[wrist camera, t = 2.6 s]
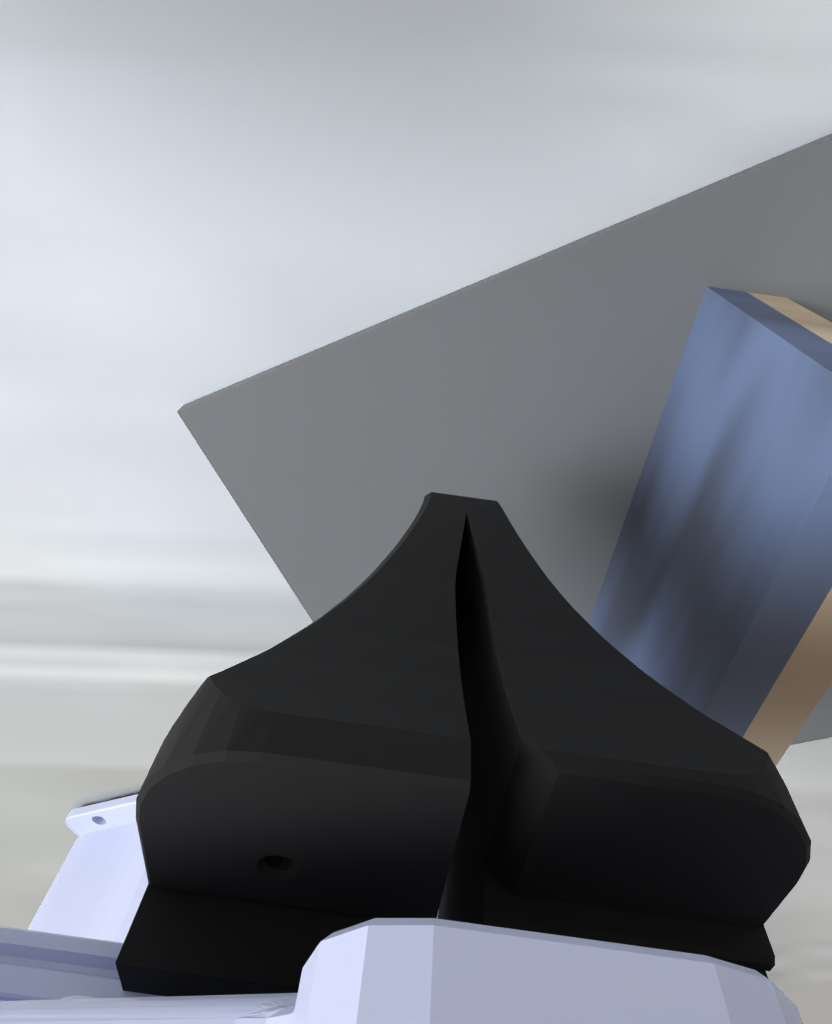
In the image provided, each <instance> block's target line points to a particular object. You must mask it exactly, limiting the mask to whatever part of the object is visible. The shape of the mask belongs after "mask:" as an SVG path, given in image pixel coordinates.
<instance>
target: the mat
mask: <svg viewBox="0 0 832 1024" xmlns="http://www.w3.org/2000/svg"><path fill="white" fill-rule="evenodd" d="M706 287H714V288H721V289H728V290H736V291H743V292H750V293H757V294H764V295H771V296H778V297H785V298H788V299H790V300H792V301H794V302H795V303H797V304H799V305H801V306H803V307H805V308H806V309H808V310H810V311H812V312H814V313H815V314H817V315H819V316H821V317H823V318H825V319H826V320H828V321H830V322H832V134H830V135H827V136H825V137H823V138H820V139H818V140H815V141H813V142H811V143H808V144H806V145H804V146H801V147H799V148H796V149H794V150H792V151H789V152H787V153H784V154H782V155H780V156H777V157H775V158H772V159H770V160H768V161H765V162H763V163H761V164H758V165H756V166H753V167H751V168H749V169H746V170H744V171H741V172H739V173H737V174H734V175H732V176H730V177H727V178H725V179H722V180H720V181H718V182H715V183H713V184H710V185H708V186H706V187H703V188H701V189H698V190H696V191H694V192H691V193H689V194H687V195H684V196H682V197H679V198H677V199H675V200H672V201H670V202H667V203H665V204H663V205H660V206H658V207H656V208H653V209H651V210H648V211H646V212H644V213H641V214H639V215H636V216H634V217H632V218H629V219H627V220H625V221H622V222H620V223H617V224H615V225H613V226H610V227H608V228H605V229H603V230H601V231H598V232H596V233H593V234H591V235H589V236H586V237H584V238H582V239H579V240H577V241H574V242H572V243H570V244H567V245H565V246H562V247H560V248H558V249H555V250H553V251H551V252H548V253H546V254H543V255H541V256H539V257H536V258H534V259H531V260H529V261H527V262H524V263H522V264H519V265H517V266H515V267H512V268H510V269H508V270H505V271H503V272H500V273H498V274H496V275H493V276H491V277H488V278H486V279H484V280H481V281H479V282H477V283H474V284H472V285H469V286H467V287H465V288H462V289H460V290H457V291H455V292H453V293H450V294H448V295H446V296H443V297H441V298H438V299H436V300H434V301H431V302H429V303H426V304H424V305H422V306H419V307H417V308H414V309H412V310H410V311H407V312H405V313H403V314H400V315H398V316H395V317H393V318H391V319H388V320H386V321H383V322H381V323H379V324H376V325H374V326H372V327H369V328H367V329H364V330H362V331H360V332H357V333H355V334H352V335H350V336H348V337H345V338H343V339H340V340H338V341H336V342H333V343H331V344H329V345H326V346H324V347H321V348H319V349H317V350H314V351H312V352H309V353H307V354H305V355H302V356H300V357H298V358H295V359H293V360H290V361H288V362H286V363H283V364H281V365H278V366H276V367H274V368H271V369H269V370H267V371H264V372H262V373H259V374H257V375H255V376H252V377H250V378H247V379H245V380H243V381H240V382H238V383H235V384H233V385H231V386H228V387H226V388H224V389H221V390H219V391H216V392H214V393H212V394H209V395H207V396H204V397H202V398H200V399H197V400H195V401H193V402H190V403H188V404H185V405H183V406H182V407H181V408H180V409H179V410H178V411H177V412H178V414H179V415H180V417H181V418H182V420H183V422H184V423H185V425H186V426H187V428H188V429H189V431H190V432H191V434H192V435H193V437H194V439H195V440H196V442H197V443H198V445H199V446H200V448H201V449H202V451H203V452H204V454H205V456H206V457H207V459H208V460H209V462H210V463H211V465H212V466H213V468H214V469H215V471H216V473H217V474H218V476H219V477H220V479H221V480H222V482H223V483H224V485H225V486H226V488H227V490H228V491H229V493H230V494H231V496H232V497H233V499H234V500H235V502H236V503H237V505H238V507H239V508H240V510H241V511H242V513H243V514H244V516H245V517H246V519H247V520H248V522H249V524H250V525H251V527H252V528H253V530H254V531H255V533H256V534H257V536H258V537H259V539H260V541H261V542H262V544H263V545H264V547H265V548H266V550H267V551H268V553H269V554H270V556H271V558H272V559H273V561H274V562H275V564H276V565H277V567H278V568H279V570H280V571H281V573H282V575H283V576H284V578H285V579H286V581H287V582H288V584H289V585H290V587H291V588H292V590H293V592H294V593H295V595H296V596H297V598H298V599H299V601H300V602H301V604H302V605H303V607H304V609H305V610H306V612H307V613H308V615H309V616H310V618H311V619H312V621H313V622H314V621H316V620H317V619H319V618H320V617H322V616H323V615H324V614H325V613H327V612H328V611H329V610H331V609H332V608H333V607H334V606H336V605H337V604H338V603H340V602H341V601H342V600H343V599H345V598H346V597H347V596H348V595H349V594H350V593H351V592H353V591H354V590H355V589H356V588H357V587H358V586H359V585H360V584H361V583H362V582H363V581H364V580H365V579H366V578H367V577H368V576H369V575H370V574H371V573H372V572H373V571H374V570H375V569H376V568H377V567H378V566H379V565H380V564H381V562H382V561H383V560H384V559H385V558H386V557H387V556H388V554H389V553H390V552H391V551H392V550H393V549H394V547H395V546H396V545H397V544H398V542H399V541H400V539H401V538H402V537H403V535H404V534H405V532H406V531H407V530H408V528H409V527H410V525H411V524H412V522H413V521H414V519H415V517H416V516H417V514H418V512H419V510H420V508H421V506H422V504H423V501H424V497H425V496H426V495H428V494H429V493H431V492H436V493H443V494H450V495H457V496H465V497H472V498H479V499H486V500H493V501H498V503H499V504H500V506H501V507H502V509H503V510H504V512H505V514H506V516H507V517H508V519H509V521H510V522H511V524H512V526H513V527H514V529H515V531H516V532H517V534H518V535H519V537H520V539H521V540H522V542H523V543H524V545H525V546H526V548H527V549H528V551H529V552H530V554H531V555H532V557H533V558H534V559H535V561H536V562H537V564H538V565H539V566H540V568H541V569H542V571H543V572H544V573H545V575H546V576H547V577H548V579H549V580H550V581H551V582H552V584H553V585H554V586H555V587H556V589H557V590H558V591H559V592H560V593H561V595H562V596H563V597H564V598H565V599H566V600H567V601H568V603H569V604H570V605H571V606H572V607H573V608H574V609H575V610H576V611H577V612H578V613H579V614H580V615H581V616H582V617H583V618H584V619H585V620H586V621H587V622H588V623H589V621H590V618H591V615H592V612H593V609H594V606H595V604H596V601H597V598H598V595H599V592H600V589H601V587H602V584H603V581H604V578H605V575H606V572H607V569H608V567H609V564H610V561H611V558H612V555H613V552H614V549H615V547H616V544H617V541H618V538H619V535H620V532H621V529H622V527H623V524H624V521H625V518H626V515H627V512H628V509H629V507H630V504H631V501H632V498H633V495H634V492H635V489H636V487H637V484H638V481H639V478H640V475H641V472H642V469H643V467H644V464H645V461H646V458H647V455H648V452H649V449H650V447H651V444H652V441H653V438H654V435H655V432H656V429H657V427H658V424H659V421H660V418H661V415H662V412H663V410H664V407H665V404H666V401H667V398H668V395H669V392H670V390H671V387H672V384H673V381H674V378H675V375H676V372H677V370H678V367H679V364H680V361H681V358H682V355H683V352H684V350H685V347H686V344H687V341H688V338H689V335H690V332H691V330H692V327H693V324H694V321H695V318H696V315H697V312H698V310H699V307H700V304H701V301H702V298H703V295H704V292H705V290H706ZM829 737H832V682H831V683H830V685H829V686H828V688H827V689H826V691H825V692H824V694H823V695H822V697H821V699H820V700H819V702H818V703H817V705H816V706H815V708H814V709H813V711H812V712H811V714H810V715H809V717H808V718H807V720H806V721H805V723H804V724H803V726H802V727H801V729H800V730H799V732H798V733H797V735H796V736H795V738H794V739H793V741H792V742H791V744H790V745H793V744H798V743H803V742H808V741H814V740H819V739H824V738H829Z"/></svg>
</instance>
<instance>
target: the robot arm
mask: <svg viewBox="0 0 832 1024" xmlns="http://www.w3.org/2000/svg"><path fill="white" fill-rule="evenodd" d="M65 822H66V825H67V826H68V827H69V828H70V829H71V830H72V831H73V832H74V833H76V834H77V835H78V838H77V840H76V841H75V843H74V845H73V847H72V849H71V851H70V852H69V854H68V856H67V858H66V860H65V862H64V863H63V865H62V867H61V869H60V871H59V873H58V874H57V876H56V878H55V880H54V882H53V883H52V885H51V887H50V889H49V891H48V893H47V894H46V896H45V898H44V900H43V902H42V904H41V905H40V907H39V909H38V911H37V913H36V915H35V916H34V918H33V920H32V922H31V924H30V926H29V927H28V929H27V930H25V929H18V928H11V927H3V926H0V1024H803V1023H802V1020H801V1018H800V1015H799V1012H798V1009H797V1007H796V1006H795V1005H794V1004H793V1003H792V1002H791V1000H790V999H789V998H788V997H787V996H786V995H784V993H783V992H782V991H781V990H780V989H779V988H778V987H777V986H776V985H775V984H774V983H773V982H772V981H771V980H770V979H768V977H767V974H766V971H770V970H771V969H772V968H773V967H774V966H775V955H774V953H773V950H772V947H771V944H770V942H769V939H768V936H767V933H766V931H765V928H764V925H763V924H764V923H765V922H766V921H767V919H768V918H769V917H770V916H771V914H772V913H773V912H774V911H775V909H776V908H777V907H778V906H779V905H780V903H781V902H782V901H783V900H784V898H785V897H786V896H787V895H788V893H789V892H790V891H791V890H792V888H793V887H794V886H795V885H796V884H797V882H798V880H799V879H800V877H801V875H802V873H803V871H804V870H805V868H806V866H807V864H808V862H809V861H810V848H811V840H810V838H809V836H808V833H807V831H806V829H805V827H804V825H803V823H802V820H801V818H800V816H799V814H798V811H797V809H796V807H795V805H794V802H793V800H792V798H791V796H790V794H789V791H788V789H787V787H786V785H785V783H784V781H783V779H782V778H781V776H780V774H779V772H778V770H777V768H776V767H775V765H774V763H773V761H772V759H771V758H770V756H769V754H768V752H766V751H765V750H763V749H761V748H760V747H758V746H756V745H755V744H753V743H751V742H750V741H748V740H746V739H745V738H743V737H741V736H740V735H738V734H736V733H734V732H733V731H731V730H729V729H728V728H726V727H724V726H723V725H721V724H719V723H718V722H716V721H714V720H713V719H711V718H709V717H708V716H706V715H704V714H703V713H701V712H700V711H698V710H697V709H695V708H694V707H692V706H691V705H689V704H688V703H686V702H685V701H683V700H682V699H681V698H679V697H678V696H676V695H675V694H673V693H672V692H671V691H669V690H668V689H666V688H665V687H663V686H662V685H661V684H659V683H658V682H657V681H655V680H654V679H653V678H651V677H650V676H649V675H647V674H646V673H645V672H643V671H642V670H641V669H640V668H638V667H637V666H636V665H635V664H634V663H632V662H631V661H630V660H629V659H628V658H626V657H625V656H624V655H623V654H622V653H620V652H619V651H618V650H617V649H616V648H614V647H613V646H612V645H611V644H610V643H609V642H608V641H606V640H605V639H604V638H603V637H602V636H601V635H600V634H599V633H598V632H597V631H596V630H595V629H594V628H593V627H592V626H591V625H590V624H589V623H588V622H587V621H586V620H585V619H584V618H583V617H582V616H581V615H580V614H579V613H578V612H577V611H576V610H575V609H574V608H573V607H572V606H571V605H570V604H569V603H568V601H567V600H566V599H565V598H564V597H563V596H562V595H561V593H560V592H559V591H558V590H557V589H556V587H555V586H554V585H553V584H552V582H551V581H550V580H549V579H548V577H547V576H546V575H545V573H544V572H543V571H542V569H541V568H540V566H539V565H538V564H537V562H536V561H535V559H534V558H533V557H532V555H531V554H530V552H529V551H528V549H527V548H526V546H525V545H524V543H523V542H522V540H521V539H520V537H519V535H518V534H517V532H516V531H515V529H514V527H513V526H512V524H511V522H510V521H509V519H508V517H507V516H506V514H505V512H504V510H503V509H502V507H501V506H500V504H499V503H498V501H493V500H486V499H479V498H472V497H465V496H457V495H450V494H443V493H436V492H431V493H429V494H428V495H426V496H425V497H424V501H423V504H422V506H421V508H420V510H419V512H418V514H417V516H416V517H415V519H414V521H413V522H412V524H411V525H410V527H409V528H408V530H407V531H406V532H405V534H404V535H403V537H402V538H401V539H400V541H399V542H398V544H397V545H396V546H395V547H394V549H393V550H392V551H391V552H390V553H389V554H388V556H387V557H386V558H385V559H384V560H383V561H382V562H381V564H380V565H379V566H378V567H377V568H376V569H375V570H374V571H373V572H372V573H371V574H370V575H369V576H368V577H367V578H366V579H365V580H364V581H363V582H362V583H361V584H360V585H359V586H358V587H357V588H356V589H355V590H354V591H353V592H351V593H350V594H349V595H348V596H347V597H346V598H345V599H343V600H342V601H341V602H340V603H338V604H337V605H336V606H334V607H333V608H332V609H331V610H329V611H328V612H327V613H325V614H324V615H323V616H322V617H320V618H319V619H317V620H316V621H314V622H313V623H312V624H310V625H309V626H307V627H306V628H304V629H302V630H301V631H299V632H297V633H296V634H294V635H292V636H291V637H289V638H287V639H286V640H284V641H283V642H281V643H279V644H278V645H276V646H274V647H273V648H271V649H269V650H267V651H265V652H263V653H261V654H259V655H257V656H255V657H252V658H250V659H248V660H246V661H244V662H241V663H239V664H237V665H235V666H233V667H230V668H228V669H226V670H224V671H221V672H219V673H217V674H214V675H212V676H210V677H208V678H207V679H206V680H205V681H204V683H203V684H202V685H201V686H200V688H199V689H198V691H197V692H196V693H195V695H194V696H193V697H192V699H191V700H190V701H189V703H188V704H187V706H186V707H185V709H184V710H183V712H182V713H181V715H180V716H179V718H178V719H177V721H176V722H175V723H174V725H173V726H172V728H171V730H170V731H169V733H168V735H167V736H166V738H165V740H164V742H163V744H162V746H161V748H160V750H159V752H158V754H157V756H156V758H155V760H154V762H153V764H152V766H151V768H150V770H149V773H148V775H147V777H146V779H145V781H144V783H143V785H142V787H141V789H140V791H139V794H136V795H132V796H127V797H123V798H119V799H114V800H110V801H106V802H101V803H97V804H93V805H88V806H84V807H80V808H75V809H73V810H71V811H70V813H69V815H68V816H67V818H66V820H65ZM438 909H439V914H438V919H436V917H437V913H438ZM765 970H766V971H765Z"/></svg>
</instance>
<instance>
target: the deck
mask: <svg viewBox="0 0 832 1024" xmlns="http://www.w3.org/2000/svg"><path fill="white" fill-rule="evenodd" d="M589 624H590V625H591V626H592V627H593V628H594V629H595V630H596V631H597V632H598V633H599V634H600V635H601V636H602V637H603V638H604V639H605V640H606V641H608V642H609V643H610V644H611V645H612V646H613V647H614V648H616V649H617V650H618V651H619V652H620V653H622V654H623V655H624V656H625V657H626V658H628V659H629V660H630V661H631V662H632V663H634V664H635V665H636V666H637V667H638V668H640V669H641V670H642V671H643V672H645V673H646V674H647V675H649V676H650V677H651V678H653V679H654V680H655V681H657V682H658V683H659V684H661V685H662V686H663V687H665V688H666V689H668V690H669V691H671V692H672V693H673V694H675V695H676V696H678V697H679V698H681V699H682V700H683V701H685V702H686V703H688V704H689V705H691V706H692V707H694V708H695V709H697V710H698V711H700V712H701V713H703V714H704V715H706V716H708V717H709V718H711V719H713V720H714V721H716V722H718V723H719V724H721V725H723V726H724V727H726V728H728V729H729V730H731V731H733V732H734V733H736V734H738V735H740V736H741V737H743V738H745V739H746V740H748V741H750V742H751V743H753V744H755V745H756V746H758V747H760V748H761V749H763V750H765V751H766V752H768V754H769V756H770V758H771V759H772V761H773V763H774V765H775V767H776V765H777V764H778V762H779V761H780V759H781V757H782V756H783V754H784V753H785V751H786V750H787V748H788V747H789V745H790V744H791V742H792V741H793V739H794V738H795V736H796V735H797V733H798V732H799V730H800V729H801V727H802V726H803V724H804V723H805V721H806V720H807V718H808V717H809V715H810V714H811V712H812V711H813V709H814V708H815V706H816V705H817V703H818V702H819V700H820V699H821V697H822V695H823V694H824V692H825V691H826V689H827V688H828V686H829V685H830V683H831V682H832V322H830V321H828V320H826V319H825V318H823V317H821V316H819V315H817V314H815V313H814V312H812V311H810V310H808V309H806V308H805V307H803V306H801V305H799V304H797V303H795V302H794V301H792V300H790V299H788V298H785V297H778V296H771V295H764V294H757V293H750V292H743V291H736V290H728V289H721V288H714V287H706V290H705V292H704V295H703V298H702V301H701V304H700V307H699V310H698V312H697V315H696V318H695V321H694V324H693V327H692V330H691V332H690V335H689V338H688V341H687V344H686V347H685V350H684V352H683V355H682V358H681V361H680V364H679V367H678V370H677V372H676V375H675V378H674V381H673V384H672V387H671V390H670V392H669V395H668V398H667V401H666V404H665V407H664V410H663V412H662V415H661V418H660V421H659V424H658V427H657V429H656V432H655V435H654V438H653V441H652V444H651V447H650V449H649V452H648V455H647V458H646V461H645V464H644V467H643V469H642V472H641V475H640V478H639V481H638V484H637V487H636V489H635V492H634V495H633V498H632V501H631V504H630V507H629V509H628V512H627V515H626V518H625V521H624V524H623V527H622V529H621V532H620V535H619V538H618V541H617V544H616V547H615V549H614V552H613V555H612V558H611V561H610V564H609V567H608V569H607V572H606V575H605V578H604V581H603V584H602V587H601V589H600V592H599V595H598V598H597V601H596V604H595V606H594V609H593V612H592V615H591V618H590V621H589Z"/></svg>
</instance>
